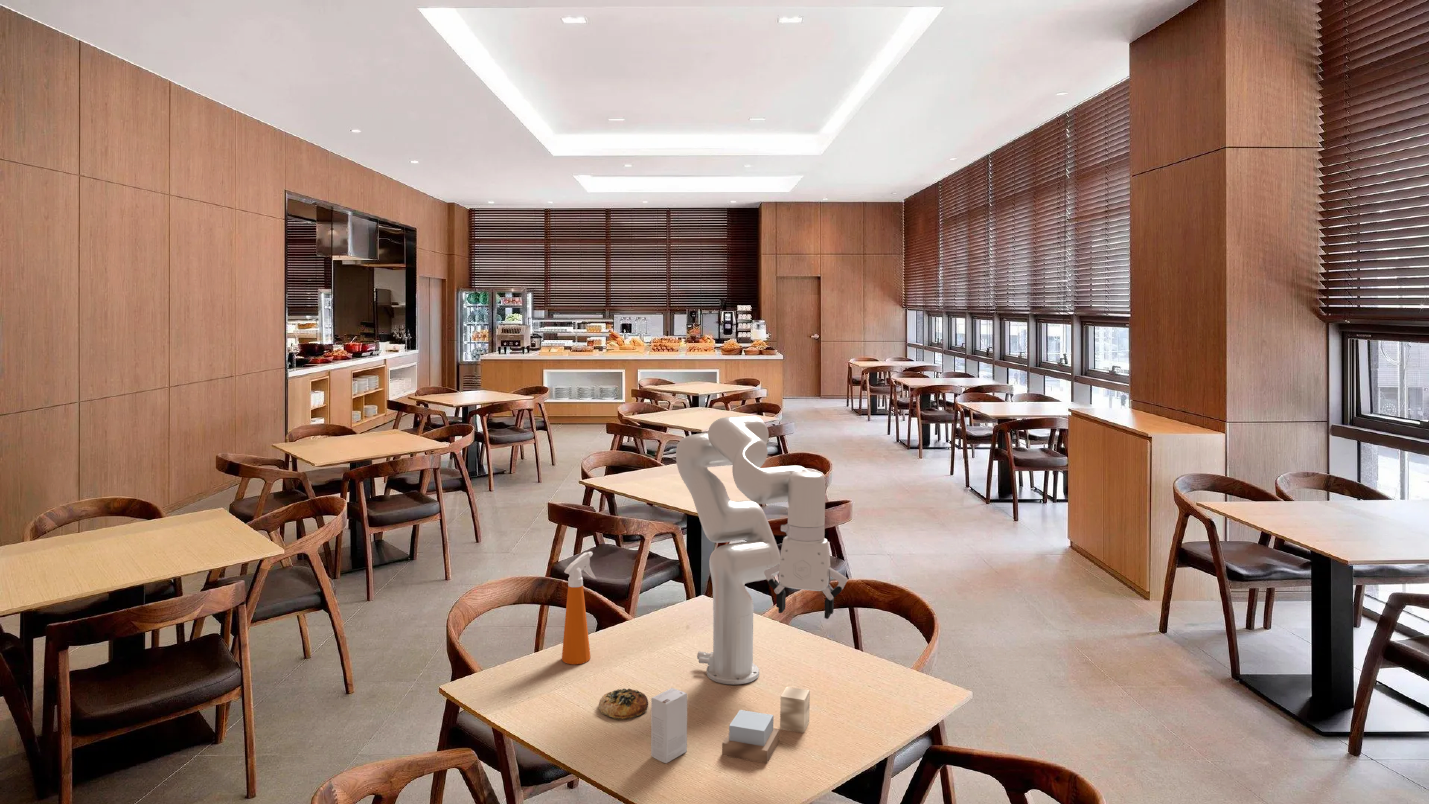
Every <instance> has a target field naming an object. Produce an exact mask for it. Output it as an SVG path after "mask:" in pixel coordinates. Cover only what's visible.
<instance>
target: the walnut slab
mask: <svg viewBox="0 0 1429 804" xmlns="http://www.w3.org/2000/svg"><path fill="white" fill-rule="evenodd" d="M779 743H780V728H774V727H773V731H772V733H771V735H770V736H769V738H768V740H767V742H766V744H765V745H764V746H760V745H754V744H748V743H742V742H736V741H730V740H729V733H727V735H726V737H725V738H724V739H723V741H722V743H721V747H722V748H721V756H725V757H730V758H736V759H740V760H747V761H752V762H758V763H762V764H768V763H769V761H770V759H771V758H772V755H773V754H774V752H775V750H776V748H777V747H778V744H779Z"/></svg>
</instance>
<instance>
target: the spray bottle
mask: <svg viewBox="0 0 1429 804" xmlns="http://www.w3.org/2000/svg"><path fill="white" fill-rule="evenodd" d="M593 554H594V553H593V551H587V552H586V551H585V552H584V553H582V554H580V555H579V556H578V557H576V558H575V560H573V561H572V562H571V563H569V565H568V566H567V567H566V568H565V569H564V573H565V574H568V575H569V577H568V578H567V579H568V581H567V583H568V584H567V585H568V586H567V592H566V593H567V595H566V605H565V607H566V608H565V617H564V628H563V629H564V631H563V640H562V642H563V643H562V651H561V660H562V662H563V663H565V664H567V665H575V666H576V665H582V664H585V663H588V662H589V661H590V659H591V650H590V649H591V648H590V639H589V629H588V620H587V612H586V611H587V610H586V600H585V594H584V581H583V580H584V578H583V576H582V571H583V572H584V573H586V574H587V575H588V576H589V577H590V578H591V579H594V580H598V578H597V577H596V576H595V574H594V572H593V571H592V568H591V565H590V563H591V560H590V559H591V557H592V556H593Z"/></svg>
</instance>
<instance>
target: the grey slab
mask: <svg viewBox="0 0 1429 804" xmlns="http://www.w3.org/2000/svg"><path fill="white" fill-rule="evenodd" d="M773 728H774V714H769V713H763V712H756V711H751V710H750V711H749V710H744V709H739V710H738V712H737V714H736V715H735V716H734V718H733V719H732V721H731V722H730V724H729V726H728V730H729V731H728V734H729V740H730V741H736V742H742V743H748V744H754V745H760V746H764V745H765V744H766V742H767V740H768V738H769V736H770V735H771V733H772V731H773Z"/></svg>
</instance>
